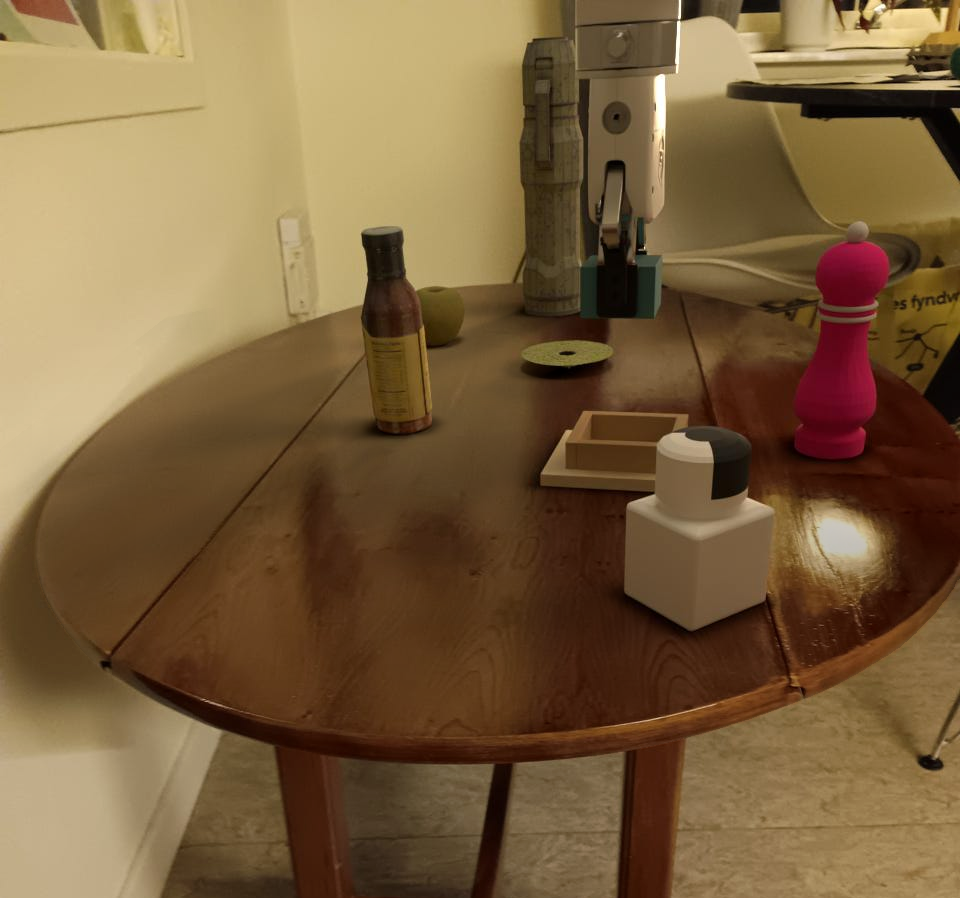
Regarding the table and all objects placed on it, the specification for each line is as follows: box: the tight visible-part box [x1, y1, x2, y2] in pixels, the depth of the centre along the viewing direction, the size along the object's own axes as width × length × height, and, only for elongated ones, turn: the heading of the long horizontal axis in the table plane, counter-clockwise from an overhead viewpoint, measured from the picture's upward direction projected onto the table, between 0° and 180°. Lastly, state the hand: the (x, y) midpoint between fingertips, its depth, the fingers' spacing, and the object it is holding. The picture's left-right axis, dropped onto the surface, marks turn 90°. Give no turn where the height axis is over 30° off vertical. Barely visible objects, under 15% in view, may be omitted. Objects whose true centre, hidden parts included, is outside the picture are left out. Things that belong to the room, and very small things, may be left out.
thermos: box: [518, 36, 584, 317], centre depth 139 cm, size 9×12×35 cm
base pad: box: [539, 410, 689, 493], centre depth 91 cm, size 14×12×4 cm
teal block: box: [579, 254, 664, 320], centre depth 81 cm, size 6×5×4 cm
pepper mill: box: [792, 220, 890, 460], centre depth 88 cm, size 7×7×20 cm
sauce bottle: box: [360, 225, 433, 435], centre depth 100 cm, size 6×6×20 cm
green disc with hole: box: [520, 339, 615, 370], centre depth 121 cm, size 11×11×2 cm
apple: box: [415, 285, 465, 347], centre depth 133 cm, size 8×8×7 cm
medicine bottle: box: [623, 425, 776, 632], centre depth 67 cm, size 7×7×12 cm
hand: (621, 306), depth 82 cm, fingers closed on teal block, 5 cm apart
